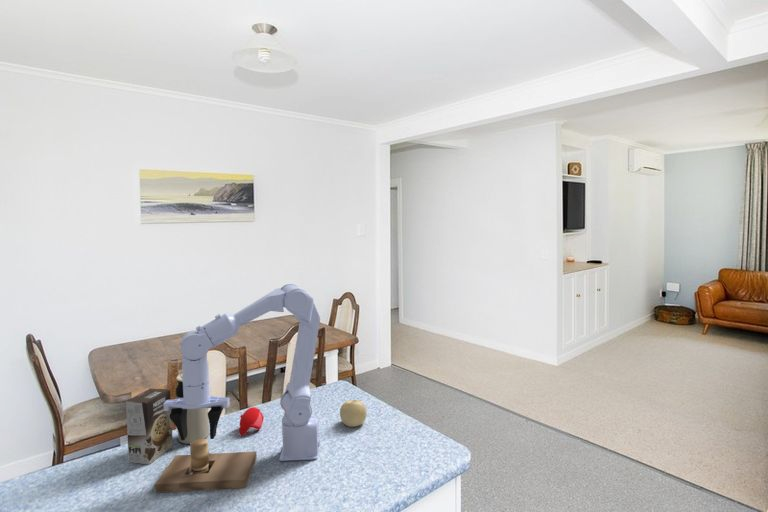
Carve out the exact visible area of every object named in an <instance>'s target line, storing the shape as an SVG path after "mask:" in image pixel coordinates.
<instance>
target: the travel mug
mask: <svg viewBox="0 0 768 512" xmlns="http://www.w3.org/2000/svg"><path fill="white" fill-rule="evenodd" d="M176 381H177V383H178V384H177V386H176V388H175V399H180V398H184V397H183V378H182V373H179V374H178V375H177V376H176ZM208 412H209V408H200V409H187V431H188V432H187V437H186V439H185V440H181V437H180V434H179V432H178V431H177V437H178V442H180V443H182V444H187V445H188V444H189V443H192V442H193V441H195V440H198V439H207V438H208V437H209V436H210V424H209V418H208ZM189 445H190V444H189Z"/></svg>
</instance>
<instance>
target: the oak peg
mask: <svg viewBox="0 0 768 512" xmlns="http://www.w3.org/2000/svg"><path fill="white" fill-rule="evenodd" d="M189 449H190V450H189V451H190V455H191V466H192V472H191V474H202V473H209V471H210V469H209V464H208V463H209V454H210V453H209V451H210V450H209V440H208V439H207V438H205V439H198V440H195V441H193V442H192V443H191V444H189Z"/></svg>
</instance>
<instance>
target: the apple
mask: <svg viewBox="0 0 768 512" xmlns="http://www.w3.org/2000/svg"><path fill="white" fill-rule="evenodd" d="M367 411H368V410H367V408H366V405H365V404H364V402H363V401H361V400H359V399H350V400H347V401H345V402H344V403H343V404H342V405H341V407H340V409H339V417H340V419H341V420H340V421H342V423H343V424H344V425H346V426H347V427H350V428H353V427H358V426H361V425H362V424H364V422H365V420H366V418H367V416H368V415H367Z"/></svg>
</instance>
